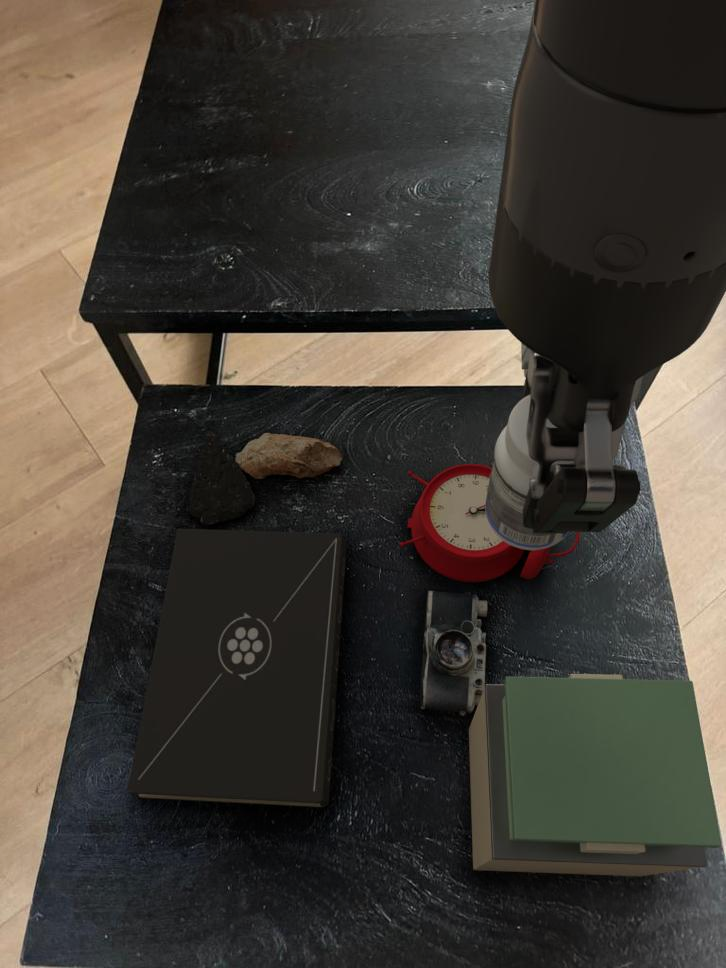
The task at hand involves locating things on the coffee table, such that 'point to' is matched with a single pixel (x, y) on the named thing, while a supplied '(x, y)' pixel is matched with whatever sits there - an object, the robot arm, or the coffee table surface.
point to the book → (244, 670)
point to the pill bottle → (515, 484)
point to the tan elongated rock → (287, 456)
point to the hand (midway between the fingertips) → (541, 471)
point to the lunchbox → (606, 763)
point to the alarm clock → (465, 529)
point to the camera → (453, 652)
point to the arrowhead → (218, 486)
